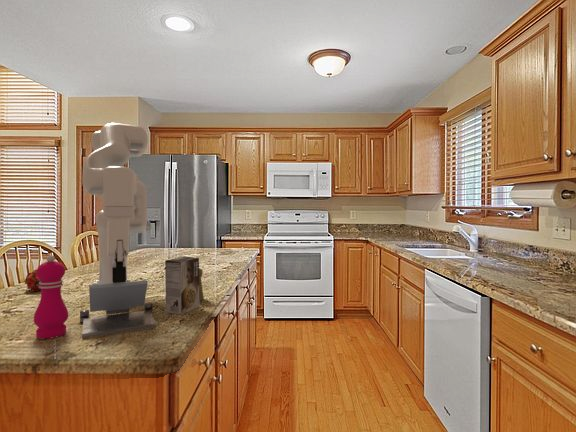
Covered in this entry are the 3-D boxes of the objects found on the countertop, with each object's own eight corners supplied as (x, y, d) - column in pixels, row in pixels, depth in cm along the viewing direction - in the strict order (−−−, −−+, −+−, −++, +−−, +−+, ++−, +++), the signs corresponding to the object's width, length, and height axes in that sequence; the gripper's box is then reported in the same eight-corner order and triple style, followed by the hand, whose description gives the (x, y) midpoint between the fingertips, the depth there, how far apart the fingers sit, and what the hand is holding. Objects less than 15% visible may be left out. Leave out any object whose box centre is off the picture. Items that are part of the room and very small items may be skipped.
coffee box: (184, 304, 116) (183, 256, 115) (200, 307, 113) (200, 257, 113) (164, 312, 107) (164, 259, 107) (181, 314, 105) (181, 261, 105)
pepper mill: (45, 330, 91) (44, 253, 91) (74, 329, 92) (73, 253, 92) (26, 340, 84) (25, 257, 84) (58, 339, 85) (57, 257, 84)
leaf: (90, 318, 99) (90, 311, 101) (143, 311, 106) (142, 305, 107) (89, 289, 90) (89, 283, 91) (147, 284, 96) (147, 278, 98)
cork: (199, 302, 119) (199, 270, 119) (182, 301, 120) (182, 269, 120) (206, 297, 125) (206, 267, 125) (191, 297, 126) (191, 266, 126)
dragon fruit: (42, 290, 143) (40, 300, 133) (20, 280, 139) (17, 290, 129) (56, 272, 145) (55, 282, 135) (35, 262, 140) (33, 271, 130)
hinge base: (80, 320, 99) (80, 309, 99) (151, 311, 108) (151, 301, 108) (77, 339, 85) (77, 327, 85) (159, 327, 94) (159, 316, 94)
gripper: (102, 213, 98) (103, 278, 99) (103, 213, 85) (103, 289, 85) (131, 213, 102) (132, 276, 102) (136, 213, 89) (137, 286, 89)
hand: (119, 281), depth 94 cm, fingers closed
